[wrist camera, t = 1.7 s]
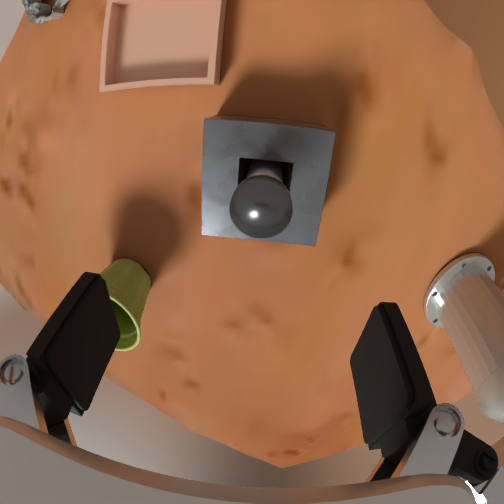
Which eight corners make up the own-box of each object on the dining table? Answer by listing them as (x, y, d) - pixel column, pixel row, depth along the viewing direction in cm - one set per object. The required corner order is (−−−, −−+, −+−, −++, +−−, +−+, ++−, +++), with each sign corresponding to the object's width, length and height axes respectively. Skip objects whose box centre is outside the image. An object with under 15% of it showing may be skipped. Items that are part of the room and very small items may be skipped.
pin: (289, 151, 26) (296, 183, 17) (284, 191, 28) (288, 241, 19) (246, 147, 26) (230, 177, 17) (243, 186, 28) (228, 235, 19)
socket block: (324, 125, 24) (335, 132, 20) (309, 221, 29) (315, 246, 25) (216, 114, 24) (203, 119, 20) (212, 211, 29) (201, 234, 25)
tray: (228, -10, 17) (223, -19, 15) (219, 85, 23) (213, 84, 21) (119, 4, 18) (107, -1, 16) (112, 90, 23) (99, 92, 21)
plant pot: (97, 238, 32) (60, 278, 25) (165, 255, 33) (137, 304, 25) (103, 293, 37) (75, 336, 30) (162, 311, 38) (142, 360, 30)
